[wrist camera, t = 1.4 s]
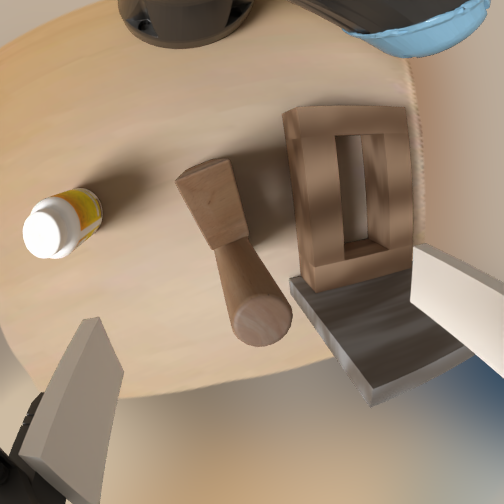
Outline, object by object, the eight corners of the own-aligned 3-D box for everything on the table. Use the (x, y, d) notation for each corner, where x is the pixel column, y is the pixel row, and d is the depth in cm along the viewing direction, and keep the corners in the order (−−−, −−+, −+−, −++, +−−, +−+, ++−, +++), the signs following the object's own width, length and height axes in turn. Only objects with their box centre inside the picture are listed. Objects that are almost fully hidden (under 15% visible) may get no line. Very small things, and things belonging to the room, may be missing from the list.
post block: (268, 115, 30) (367, 65, 11) (390, 111, 32) (522, 100, 13) (290, 293, 37) (370, 407, 18) (397, 266, 39) (503, 335, 20)
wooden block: (214, 158, 31) (238, 156, 14) (250, 248, 34) (303, 335, 17) (182, 171, 30) (165, 186, 14) (220, 261, 34) (246, 359, 17)
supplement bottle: (69, 180, 28) (23, 191, 19) (111, 197, 30) (77, 215, 20) (55, 226, 29) (10, 253, 20) (95, 244, 31) (61, 278, 21)
